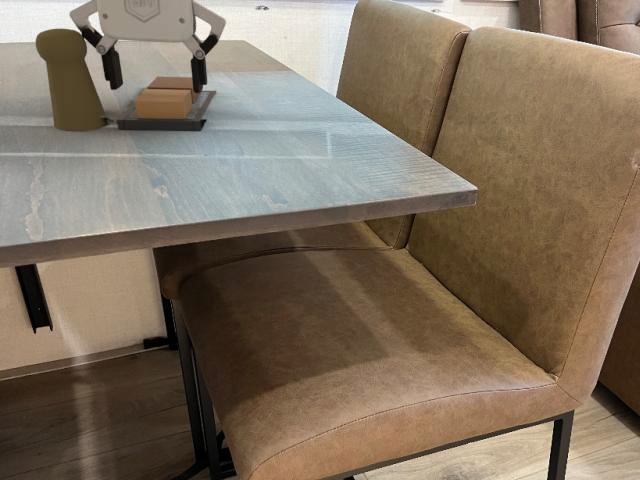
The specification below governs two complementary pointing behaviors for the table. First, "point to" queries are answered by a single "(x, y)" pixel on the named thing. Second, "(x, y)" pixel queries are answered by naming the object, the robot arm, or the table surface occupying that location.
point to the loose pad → (163, 104)
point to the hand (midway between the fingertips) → (158, 89)
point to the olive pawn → (70, 81)
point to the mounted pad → (174, 85)
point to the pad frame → (164, 120)
